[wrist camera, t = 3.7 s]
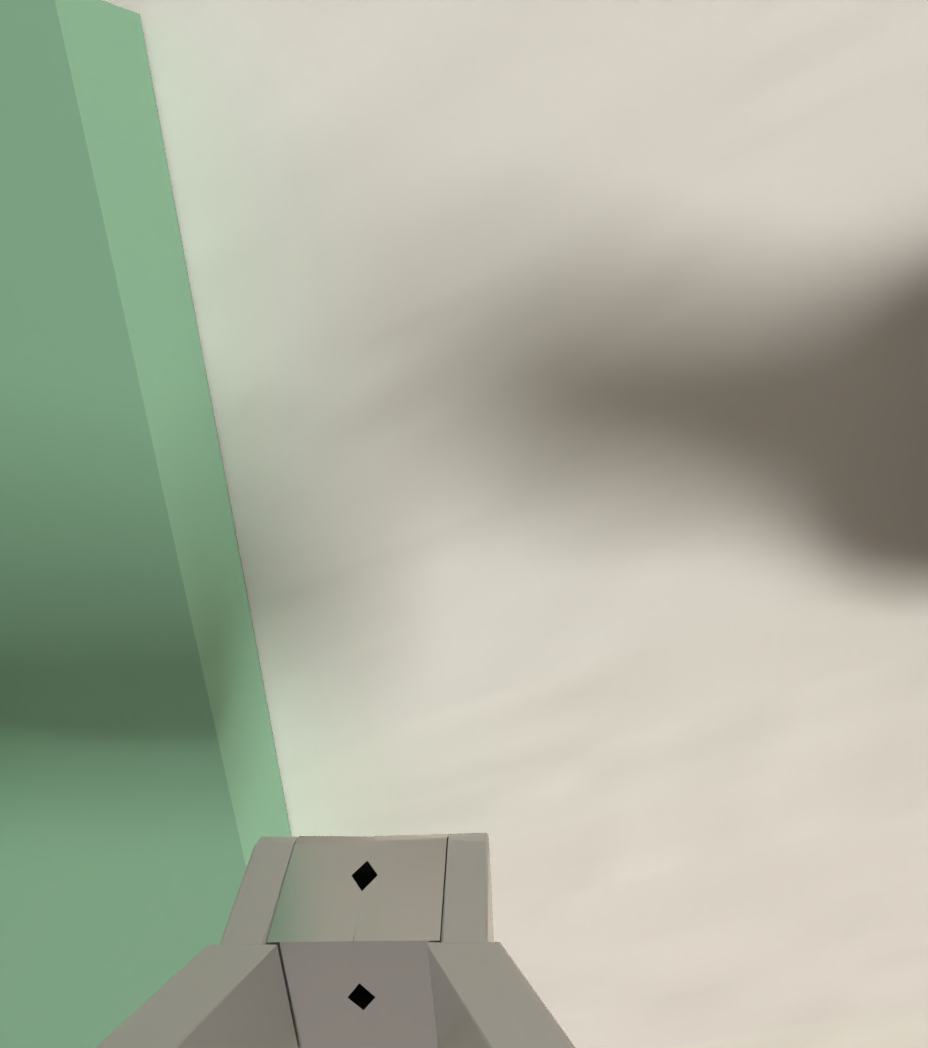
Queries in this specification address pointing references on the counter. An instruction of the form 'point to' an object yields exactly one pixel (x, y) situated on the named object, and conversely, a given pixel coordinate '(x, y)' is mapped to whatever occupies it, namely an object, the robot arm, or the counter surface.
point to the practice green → (110, 555)
